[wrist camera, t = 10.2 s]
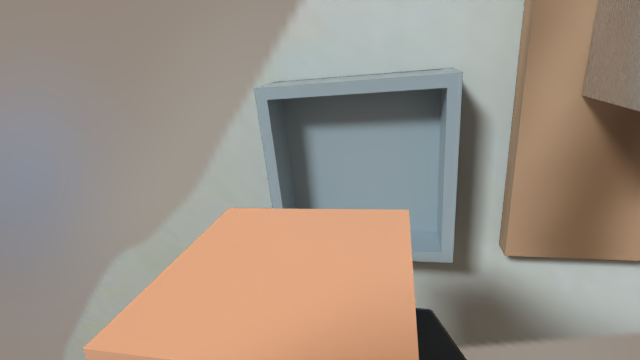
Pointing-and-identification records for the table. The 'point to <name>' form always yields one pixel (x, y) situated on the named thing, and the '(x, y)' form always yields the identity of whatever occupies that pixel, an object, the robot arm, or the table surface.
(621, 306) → the table surface
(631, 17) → the block
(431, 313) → the robot arm
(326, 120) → the tray
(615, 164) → the rail base
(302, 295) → the block
